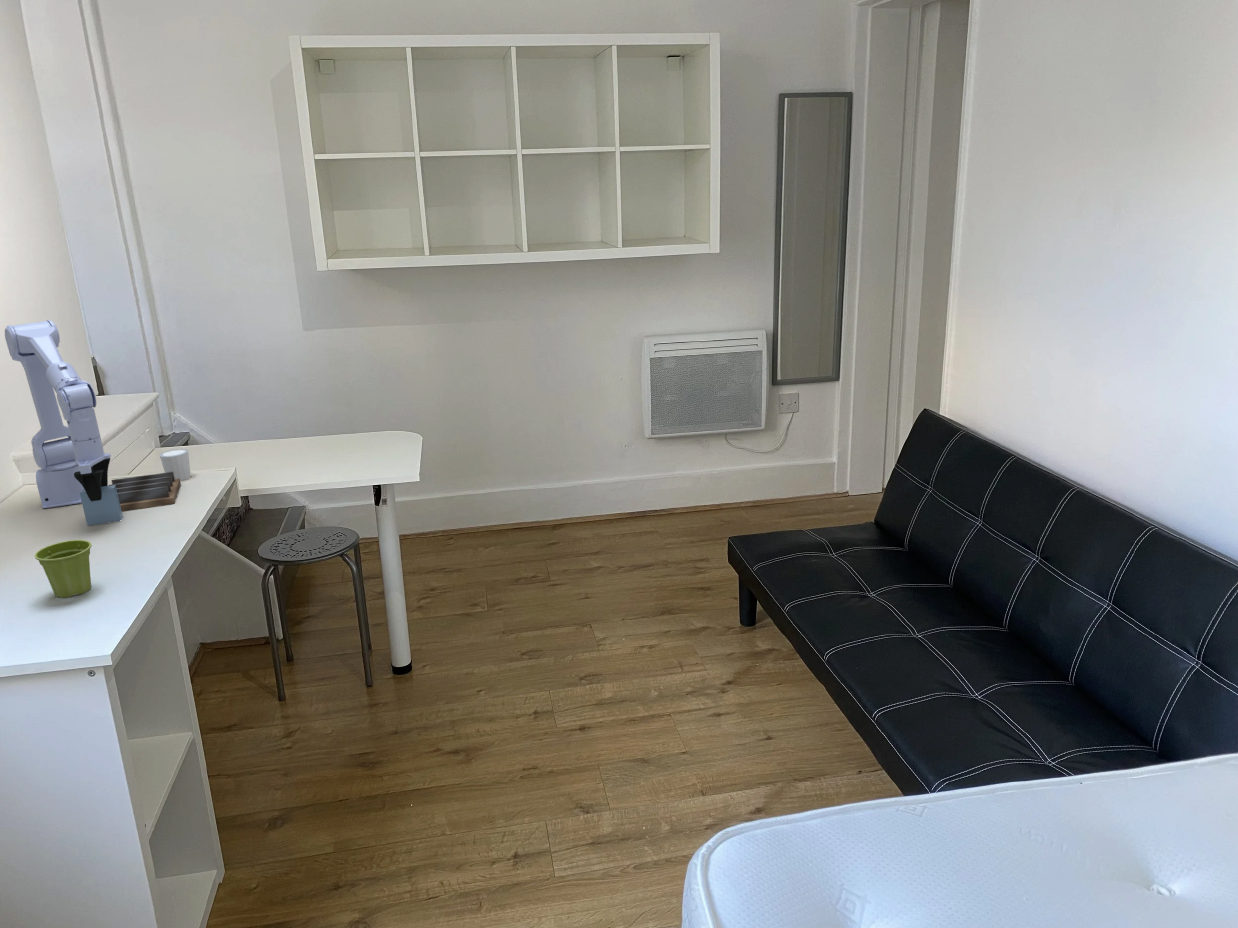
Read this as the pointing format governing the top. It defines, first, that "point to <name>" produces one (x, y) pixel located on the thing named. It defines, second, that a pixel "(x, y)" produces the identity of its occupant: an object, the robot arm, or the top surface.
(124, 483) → the rack
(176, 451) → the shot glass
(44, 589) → the top surface
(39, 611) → the top surface
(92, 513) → the block
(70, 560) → the plant pot
